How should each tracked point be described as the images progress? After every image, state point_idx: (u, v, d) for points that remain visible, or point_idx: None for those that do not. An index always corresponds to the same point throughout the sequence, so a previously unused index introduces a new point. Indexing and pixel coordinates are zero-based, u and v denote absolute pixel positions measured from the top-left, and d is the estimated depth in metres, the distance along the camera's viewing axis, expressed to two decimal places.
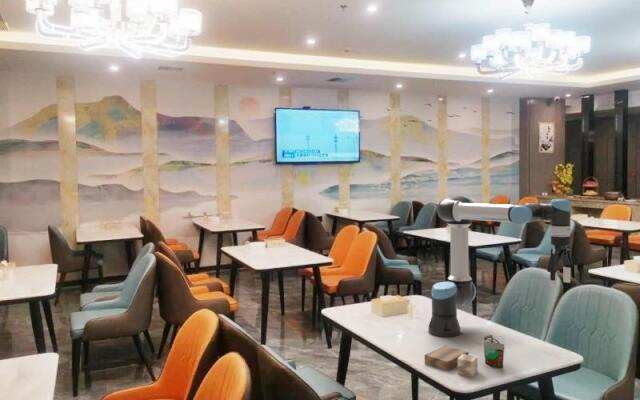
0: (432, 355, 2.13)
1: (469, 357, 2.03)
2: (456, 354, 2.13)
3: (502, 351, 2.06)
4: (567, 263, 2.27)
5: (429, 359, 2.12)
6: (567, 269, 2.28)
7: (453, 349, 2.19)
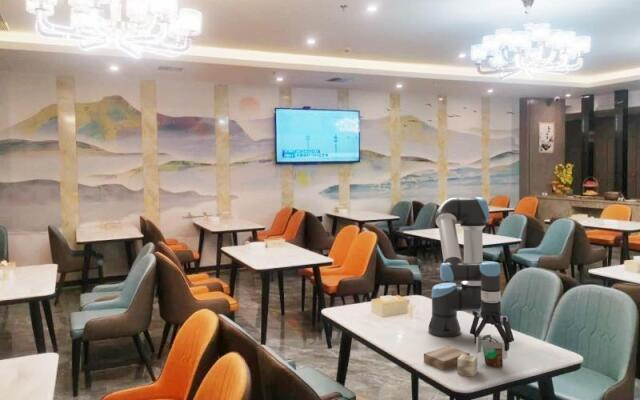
0: (431, 354, 2.14)
1: (469, 357, 2.03)
2: (456, 354, 2.13)
3: (501, 350, 2.06)
4: None
5: (428, 358, 2.13)
6: None
7: (455, 350, 2.18)
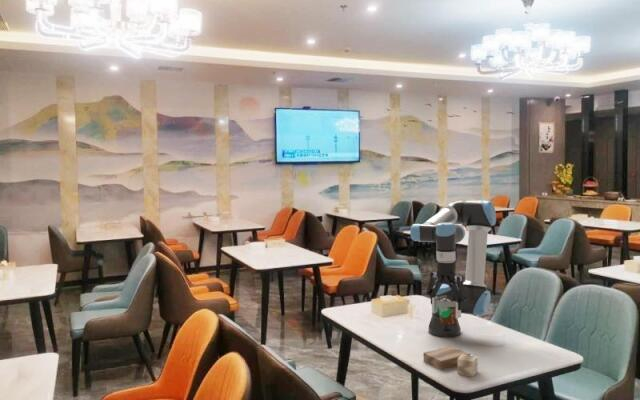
0: (430, 353, 2.15)
1: (469, 357, 2.03)
2: (456, 355, 2.12)
3: (454, 308, 2.09)
4: None
5: (427, 357, 2.14)
6: None
7: (456, 350, 2.18)
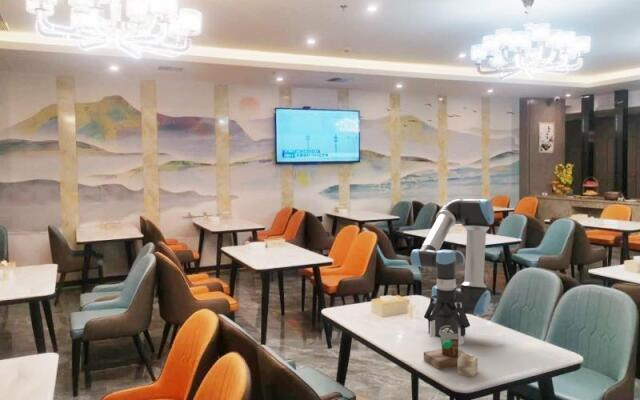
0: (431, 353, 2.15)
1: (469, 357, 2.03)
2: None
3: (457, 341, 2.09)
4: None
5: (427, 357, 2.14)
6: None
7: None
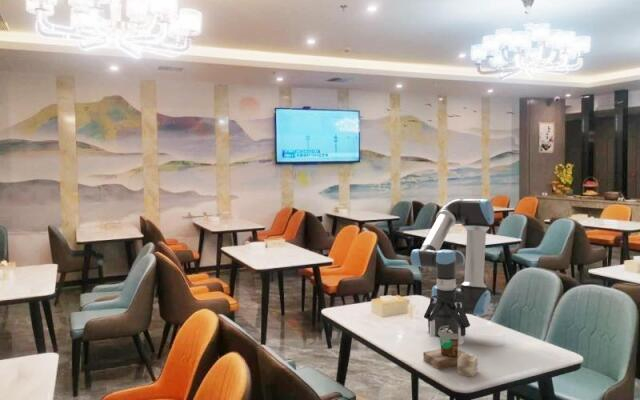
0: (430, 353, 2.15)
1: (469, 357, 2.03)
2: None
3: (456, 341, 2.09)
4: None
5: (426, 357, 2.14)
6: None
7: None
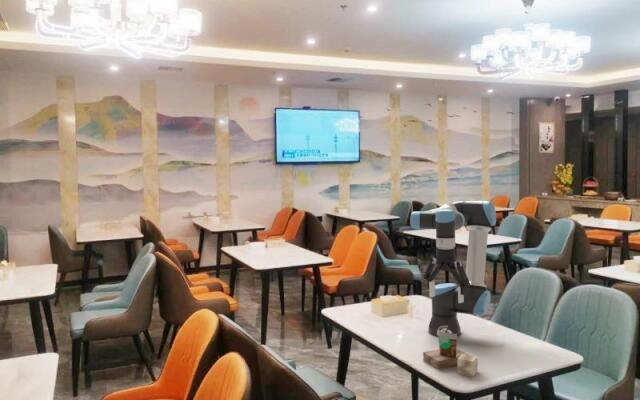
0: (430, 353, 2.15)
1: (469, 357, 2.03)
2: None
3: (455, 341, 2.09)
4: None
5: (426, 357, 2.14)
6: None
7: (457, 351, 2.17)
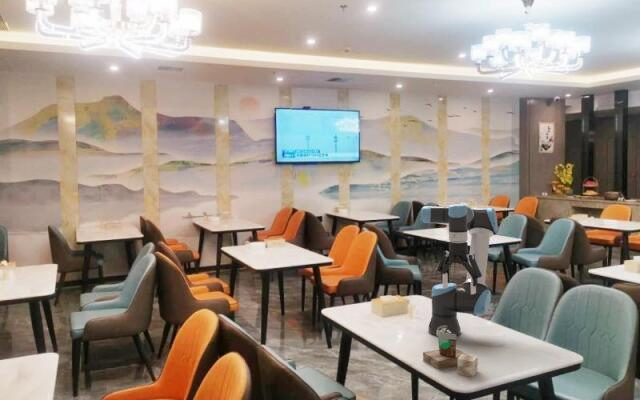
0: (430, 353, 2.15)
1: (469, 357, 2.03)
2: None
3: (454, 341, 2.09)
4: None
5: (426, 357, 2.14)
6: None
7: (457, 351, 2.17)
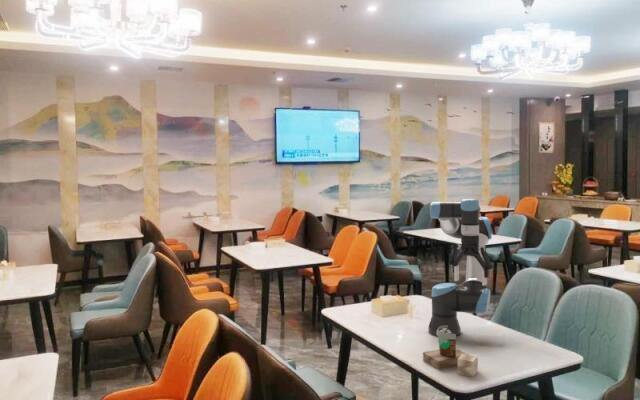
0: (430, 353, 2.15)
1: (469, 357, 2.03)
2: None
3: (454, 341, 2.09)
4: None
5: (426, 357, 2.14)
6: None
7: (457, 351, 2.17)
